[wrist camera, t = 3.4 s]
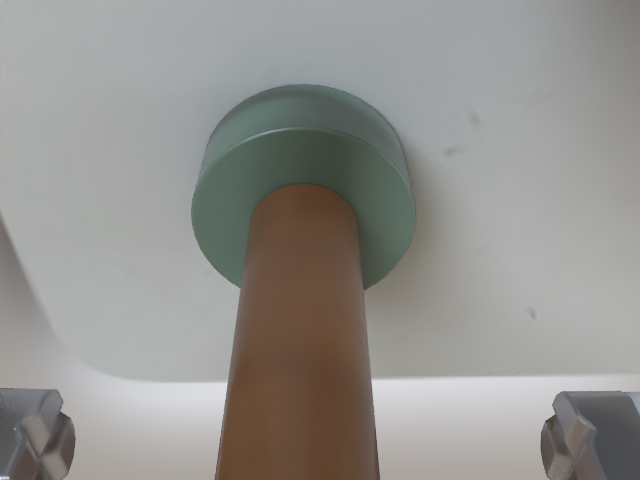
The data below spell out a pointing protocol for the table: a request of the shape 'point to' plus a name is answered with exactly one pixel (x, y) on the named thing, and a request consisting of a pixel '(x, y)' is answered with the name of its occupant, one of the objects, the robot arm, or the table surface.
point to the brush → (302, 275)
